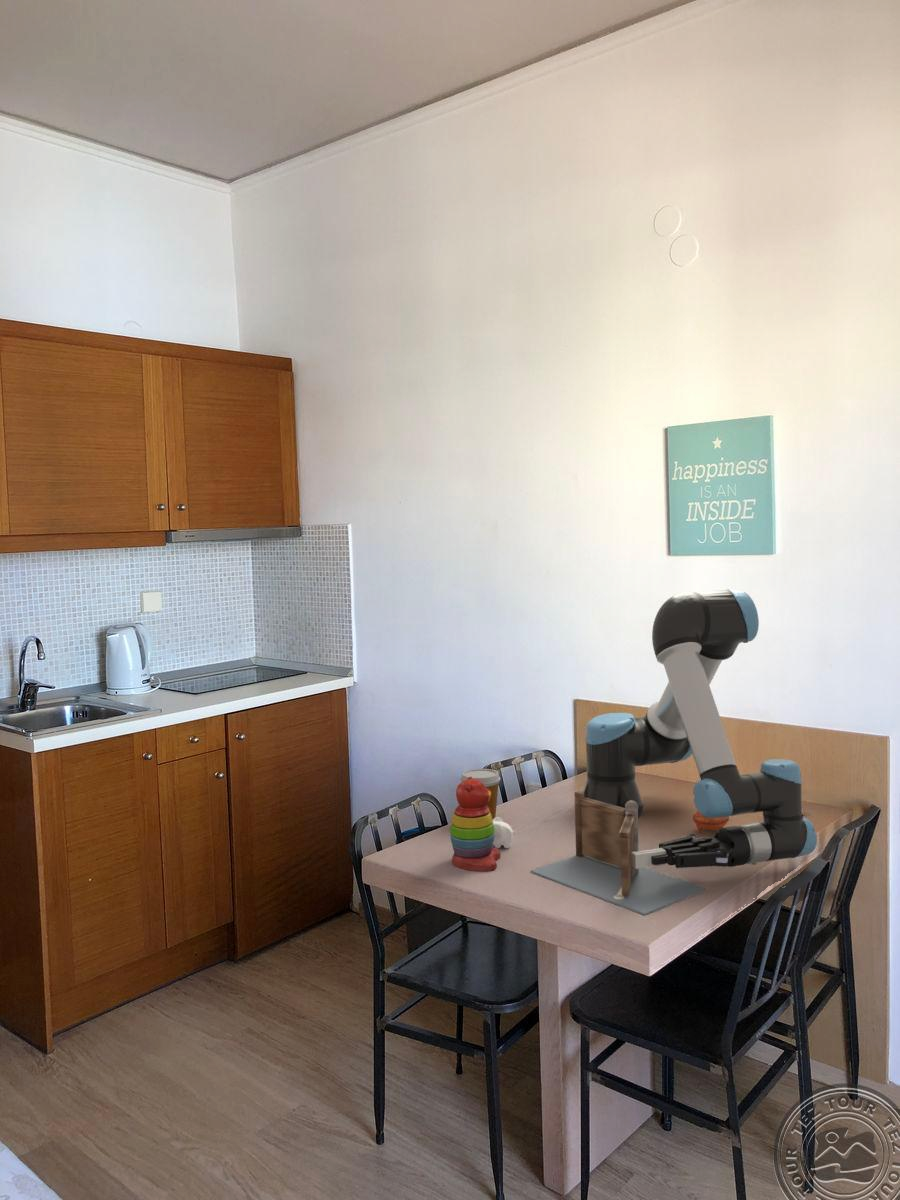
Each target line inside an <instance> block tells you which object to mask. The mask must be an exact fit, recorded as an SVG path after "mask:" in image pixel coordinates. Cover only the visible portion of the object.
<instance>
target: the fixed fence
mask: <svg viewBox="0 0 900 1200" xmlns="http://www.w3.org/2000/svg"><path fill="white" fill-rule="evenodd" d="M626 814H634V815H635V818H636V820H635V822H634V851H635V852H637V851H639V816H638V804H637V803H636V802H635V801H632V800H630V801H628V802H627V803H626V804H625V808H622V807H618V806H615V805H611V804H607V803H604V802H600V801H597V800H593V799H589V798H584V792H583V791H574V826H575V831H574V832H575V833H574V834H575V856H578V857H583V856H587V857H590V858H593V859H596V860H599V861H602V862H605V863H608V864H611V865H614V866H617V867H620V868H621V838H619V832H620V829H621V826H622V824H623V821H624V819H625V816H626ZM637 874H639V869H635V875H637Z"/></svg>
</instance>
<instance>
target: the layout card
mask: <svg viewBox="0 0 900 1200" xmlns="http://www.w3.org/2000/svg"><path fill="white" fill-rule="evenodd" d="M530 873H532V874H535V875H538V876H540V877H543V878H545V879H548V880H550V881H554V882H556V883H559V884H561V885H563V886H566V887H569V888H572V889H574V890H577V891H580V892H583V893H585V894H588V895H590V896H593V897H596V898H598V899H601V900H604V901H606V902H609V903H611V904H614V905H616V906H620V907H621V908H625V909H627V910H628V911H629V910H630V911H632V912H635V913H637V914H640V915H643V916H647V915H649V914H651V913H654V912H657V911H658V910H661V909H664V908H666V907H669V906H670V905H673V904H676V903H678V902H680V901H682V900H686V899H687V898H690V897H694V896H695V895H697V894H700V893H702V892H705V891H706V890H707V889H708V888H707V887H704V886H701V885H698V884H695V883H692V882H690V881H686V880H683V879H680V878H677V877H674V876H671V875H668V874H665V873H661V872H659V871H656V870H653V869H650V868H648V867H646V868H639V874H637V875H634V878H633V881H632V885H631V888H630V892H629V895H628V896H627V895H622V875H621V868H620V867H617V866H614V865H611V864H608V863H605V862H602V861H599V860H596V859H593V858H590V857H587V856H583V857H578V856H576V855H573V856H570V857H566V858H564V859H560V860H558V861H555V862H552V863H549V864H546V865H543V866H540V867H537V868H534V869H531V870H530Z"/></svg>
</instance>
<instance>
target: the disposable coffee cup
mask: <svg viewBox="0 0 900 1200" xmlns="http://www.w3.org/2000/svg"><path fill="white" fill-rule="evenodd" d="M468 777H472V779H477V780H480V781H481V782H482V783H483V784H484V785H485V787H486V788H487V789H488V790H489V791H491V793H492V796H491V799H490V801H489V802H488V803H487V804H486V805H487V806H488V808H489V809H490V813H491V816H492V820H493V819H494V818H495V817H497V816H496V814H497V805H498V796H499V795H498V793H499V785H500V781H501V777H500V774H499V771H497V770H495V769H489V768H473V769H468V770H465V771H463V772H462V774H461V777H460V782H462V781H464V780H467V779H468Z"/></svg>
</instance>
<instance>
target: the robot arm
mask: <svg viewBox="0 0 900 1200" xmlns="http://www.w3.org/2000/svg"><path fill="white" fill-rule="evenodd" d="M759 624H760V621H759V613H758V610H757V607H756V604H755V602H754V600H753V598H752V597H751V596H750V595H749V593H747V592H746V591H743V590H737V589H722V590H708V591H706V590H705V591H693V592H691V591H689V592H687V591H686V592H680V593H677V594H675V595H672V596H671V597H669V598H668V599H667V600H666V601H665V602H663V604H662V605H661V606H660V607H659V609H658V611H657V612H656V615H655V618H654V621H653V624H652V631H651V632H652V633H651V634H652V635H651V639H652V648H653V651H654V655H655V658H656V661H657V662H658V663H659V664H662V665H663V667H664V670H665V673H666V676H667V678H668V679H667V680H668V683H667V685H666V687H665V689H664V690H663V693H662V695H661V697H660V698H659V701H657V702H655V703H652V704H651V705H650V706H649V708H648V709H647V712H646V714H645V716H644V717H635V716H634V715H633V713H629V712H610V713H604V714H600V715H597V716H594V717H593V718H591V719H590V720H589V721H588V722H587V725H586V728H585V729H586V731H585V746H586V747H585V749H586V750H585V751H586V753H585V754H586V782H585V786H584V790H583V791H582V792H584V798H589V799H593V800H597V801H600V802H604V803H607V804H611V805H615V806H618V807H622V808H625V804H626V803H627V802H628V801H630V800H632V801H635V802H636V803H637V804H638V817H639V816H641V815H642V814H643V812H644V802H643V799H642V796H641V793H640V789H639V787H638V784H637V781H636V780H637V779H636V767H642V766H649V765H650V766H653V765H662V764H674V763H678V762H680V761H681V762H682V761H685V760H687V759H689V758H690V757H691V756H692V757H693V759H694V762H695V765H696V766H695V767H696V769H697V772H698V775H699V779H700V780H699V781H697V782H696V783H695V785H694V787H693V792H692V794H693V797H694V798H693V802H694V805H695V808H696V811H697V810H698V811H699V813H700V814H701V815H703V816H704V817H707V818H717V817H729V818H730V817H733V816H738V815H744V814H745V815H747V814H753V813H754V814H755V813H762V817H763V822H753V823H747V824H739V825H734V826H728V827H727V826H726V827H723V828H721V829H719V830H716V831H717V832H716V833H715V834H714V836H713V837H712V836H703V837H702V838H696V836H697V835H696V834H695V833H690V834H687V835H686V836H683V837H680V838H679V837H678V838H676V839H670V840H667V841H663V842H659V843H658V847H657V848H651V849H645V850H638V851H637V852H631V866H632V867H634V868H635V869H639V868H652V867H657V866H664V865H668V866H675V868H676V869H684V868H685V869H686V868H687V869H688V868H703V867H705V868H706V867H721V868H722V867H724V868H727V867H729V868H732V867H738V866H743V865H750V864H751V865H753V866H754V865H756V866H757V864H758V863H764V862H770V861H776V860H778V861H779V860H785V859H795V858H799V857H804V856H806V855H809V854H811V853H813V852H814V851H815V849H816V846H817V844H818V834H817V833H816V831H815V829H816V828H815V826H814V824H813V822H812V821H811V820H809V819H808V818H806V817H804V816H802V814H803V812H802V811H803V810H802V805H803V804H802V803H803V801H802V795H803V794H802V790H803V789H802V785H803V780H802V775H801V768H800V765H799V764H798V762H797V761H795V760H794V761H793V760H791V759H780V758H776V759H773V758H772V759H767V760H764V761H762V762H761V764H760V769H759V771H760V772H756V773H748V774H740V772H739V769H738V766H737V763H736V761H735V757H734V753H733V751H732V748H731V746H730V742H729V740H728V736H727V734H726V731H725V728H724V724H723V722H722V718H721V715H720V713H719V710H718V707H717V704H716V701H715V698H714V695H713V693H712V689H711V686H710V685H711V683H712V680H713V679H714V677H715V675H716V673H717V671H718V669H719V668H720V665H721V664H722V661H725V660H728V659H730V658H732V656H733V655H734V653H735V652H736V650H737V648H738V646H739V645H740V644H743V643H744V644H747V643H749V642H752V641H754V640H755V638H756V637H757V635H758V632H759V627H760V626H759Z"/></svg>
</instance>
